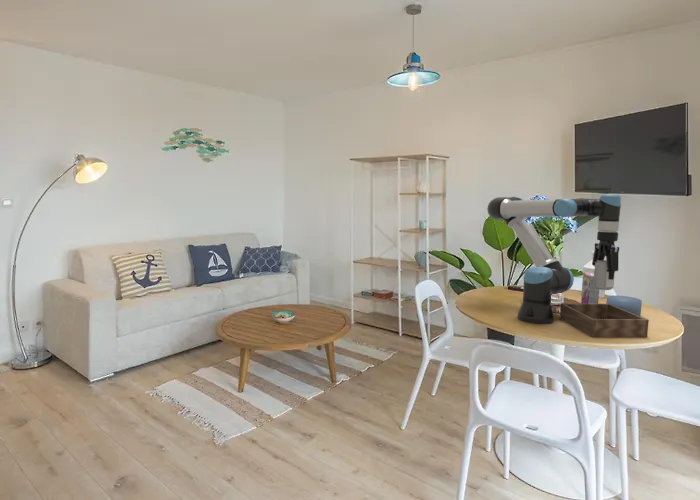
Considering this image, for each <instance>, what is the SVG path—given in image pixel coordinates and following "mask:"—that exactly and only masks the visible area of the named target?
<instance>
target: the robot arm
mask: <svg viewBox="0 0 700 500" xmlns="http://www.w3.org/2000/svg"><path fill="white" fill-rule="evenodd" d="M621 206H622V197H621V195H620V194H614V193H613V194H611V193H610V194H608V193H607V194H606V193H603V194H601V195H600V197H599V198H584V197H583V198H582V197H579V198H569V197H568V198H560V199H559V198H555V199H554V198H552V199H551V198H549V199H523V198H522V197H517V196H511V197H510V196H509V197H508V196H507V197H506V196H505V197H504V196H503V197H502V196H501V197H500V196H499V197H495V198H493V199H492V200H490V202H489V203H488V205H487V207H486V210H487V214H488V215H489V216H488V217H490V218H491V219H493V220H495V221H504V223H505V225H506V226H507V227H508V228H510V229H512V230H513V231H514V233H515V234H516V236H517V238H518V240H519V241H520V243H521V244H522V247H523V248H524V249H525V250H526V252H527V254H528V256H529V258H530V259H531V261H532V262H533V264H534V266H533V267H529V268H527V269H526V270H525V271H524V274H523V293H522V294H523V295H522V303H521V305H520V308H519V310H518V312H517V318H518V319H519V320H521V321H524V322H527V323H530V324H551V323H553V322H554V320H555V316H554V312H553V308H552V305H551V304H550V303H551V295H552V294H557V293H562V294H563V293H565V292H567V291H569V290H571V288H572V287H573V284H574V282H575V281H574V279H575V277H574V274H573V272H572V271H571V270H570V269H569V268H567V267H564V266H563V265H562V264H561V262H560V260H558V259H557V260H556V259H554V258H553V256H552V255H551V252H550V251H549V249H548V248H547V246H546V245H545V243H544V241H543V240H542V239H541V237H540V235H539V233H538V232H537V230H536V229H535V227H534V225H527V224H526V221H525V220H526V219H527V217H529V218H531V217H533V218H534V217H535V218H537V217H539V218H541V217H547V218H548V217H553V218H554V217H555V218H556V217H557V218H558V217H561V218H562V217H563V218H570V217H598V222H597V234H596V240H597V241H599V243H598V242H595V243H594V249H593V251H594V256H593V262H592V265H594V267H595V264H596V263H597V260H607V267H608V270H607V271H606V283H605V287H613V288H614V286H613V279H614V280H615V275H614V272H615V273H616V272H619V251H620V246H616V245H615V242H618V239H619V225H620V216H621V215H620V214H621V213H620V212H621ZM605 258H606V259H605ZM595 262H596V263H595Z"/></svg>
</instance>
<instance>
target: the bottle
mask: <svg viewBox="0 0 700 500" xmlns="http://www.w3.org/2000/svg"><path fill="white" fill-rule="evenodd" d="M593 256H594V250H591V260H589V261H588V262H587V263H586V264H584V265H583V267H582V274H583V273H594V269H595V267H594V265H592V262H593ZM595 263H596V262H595ZM582 282H583V279H582ZM605 295H606V290H600V289H599V298H598V299H600V298H601V299H602V298H605Z"/></svg>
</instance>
